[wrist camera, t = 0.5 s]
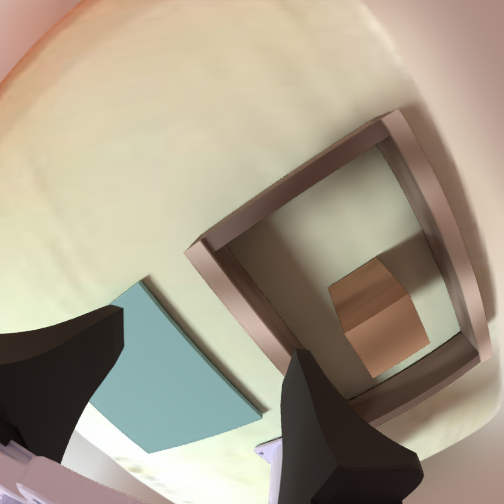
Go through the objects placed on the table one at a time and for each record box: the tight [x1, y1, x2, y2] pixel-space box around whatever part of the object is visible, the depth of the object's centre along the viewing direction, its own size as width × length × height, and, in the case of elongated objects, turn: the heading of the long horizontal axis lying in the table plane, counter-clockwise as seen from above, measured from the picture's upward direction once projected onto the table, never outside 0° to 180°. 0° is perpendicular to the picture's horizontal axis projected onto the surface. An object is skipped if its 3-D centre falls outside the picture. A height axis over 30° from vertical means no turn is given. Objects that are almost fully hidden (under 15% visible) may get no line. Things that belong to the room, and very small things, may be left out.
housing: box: [184, 109, 493, 428], centre depth 19 cm, size 20×14×4 cm
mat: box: [89, 280, 263, 454], centre depth 25 cm, size 16×16×1 cm
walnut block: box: [328, 257, 430, 378], centre depth 18 cm, size 4×4×6 cm
